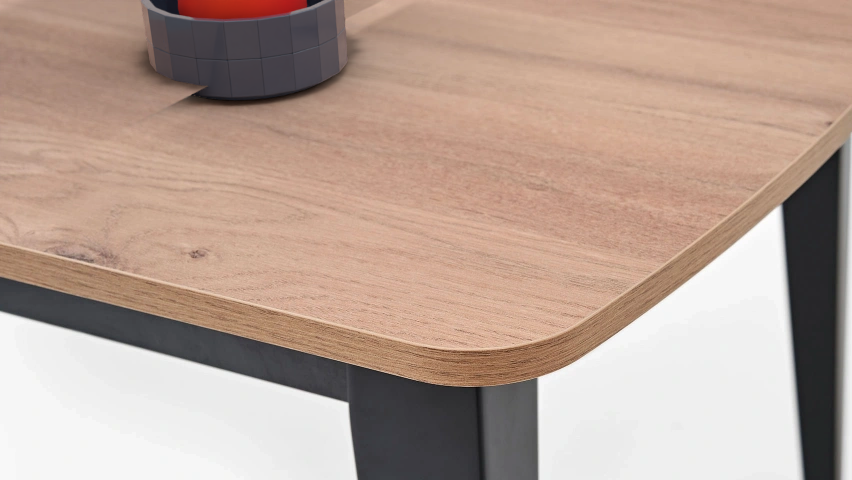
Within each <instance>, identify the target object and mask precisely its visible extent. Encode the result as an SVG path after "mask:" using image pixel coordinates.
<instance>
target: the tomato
mask: <svg viewBox="0 0 852 480" xmlns="http://www.w3.org/2000/svg"><path fill="white" fill-rule="evenodd" d="M304 8H307V0H178V10H179V14H180V15H181V16H187V17H193V18H209V19H238V18H257V17H263V16H270V15H277V14H284V13H288V12H292V11H296V10H300V9H304Z"/></svg>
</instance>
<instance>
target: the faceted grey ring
mask: <svg viewBox="0 0 852 480" xmlns="http://www.w3.org/2000/svg"><path fill="white" fill-rule="evenodd" d="M140 6H141V12H142V20H143V27H144V32H145V33H144V34H145V39H146V40H145V41H146V46H147V54H148V59H149V64H150V66H151V67H152V68H153V70H154V71H155V72H156V73H157V74H159V75H161V76H163V77H165V78H167V79H170V80H172V81H174V82H180V83H185V84H190V85H195V86H201V87H203V86H204V87H203V88H202V89H200V90H197V91H196V92H193V93H191V94H190V96H193V97H196V98H203V99H210V100H218V101H252V100H262V99H263V100H264V99H270V98H271V99H272V98H277V97H282V96H287V95H293V94H296V93H299V92H302V91H305V90H308V89H310V88H313V87H315V86H317V85H320V84H321V83H323V82H325V81H327V80H328V79H331V78H332V77H334V76H337V74H339V73H340V72H341V71H342V70H343V68H344V67H345V66H346V65H347V64H348V45H347V44H348V43H347V28H346V16H345V15H346V13H345V0H307V8H304V9H300V10H296V11H292V12H288V13H284V14H277V15H270V16H263V17H257V18H238V19H209V18H193V17H187V16H181V15H180V14H179V10H178V0H140Z"/></svg>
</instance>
